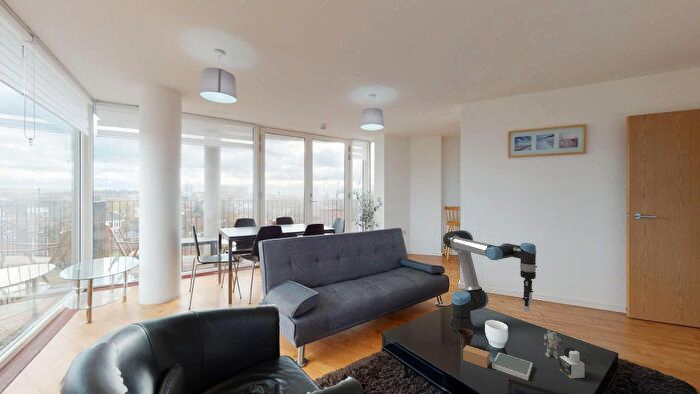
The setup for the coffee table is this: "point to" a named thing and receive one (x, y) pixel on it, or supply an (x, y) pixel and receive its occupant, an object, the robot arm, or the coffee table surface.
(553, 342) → the figurine
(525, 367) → the framed panel
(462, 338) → the cup
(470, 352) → the tan rectangular pillar
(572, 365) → the medicine bottle
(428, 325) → the coffee table surface
